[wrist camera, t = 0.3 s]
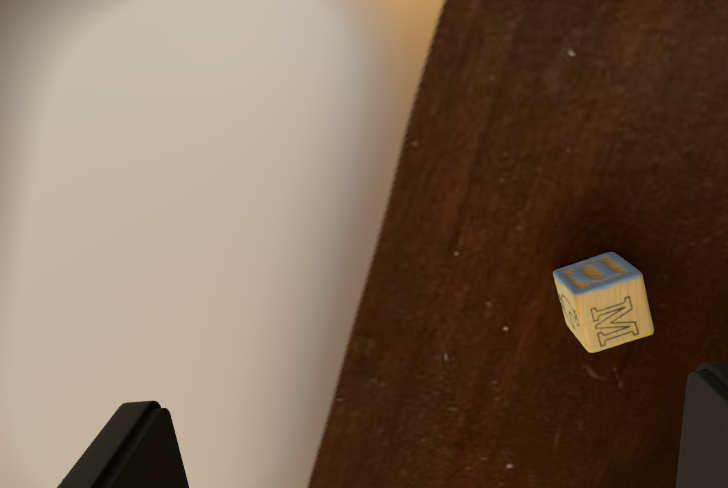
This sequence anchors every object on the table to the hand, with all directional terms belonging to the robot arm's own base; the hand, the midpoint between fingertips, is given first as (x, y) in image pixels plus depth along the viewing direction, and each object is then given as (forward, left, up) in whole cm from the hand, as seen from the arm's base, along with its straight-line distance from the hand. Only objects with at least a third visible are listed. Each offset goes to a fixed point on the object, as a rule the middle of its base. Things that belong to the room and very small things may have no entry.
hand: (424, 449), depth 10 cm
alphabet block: (-3, +10, -16) cm, 19 cm away
